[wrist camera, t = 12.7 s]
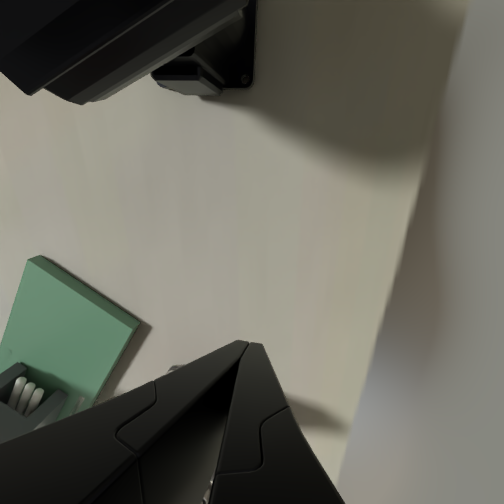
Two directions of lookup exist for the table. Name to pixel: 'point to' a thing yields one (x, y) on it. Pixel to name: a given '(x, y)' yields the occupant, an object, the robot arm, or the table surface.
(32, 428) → the plug
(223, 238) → the table surface
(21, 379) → the header
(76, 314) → the board
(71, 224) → the table surface
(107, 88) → the robot arm
